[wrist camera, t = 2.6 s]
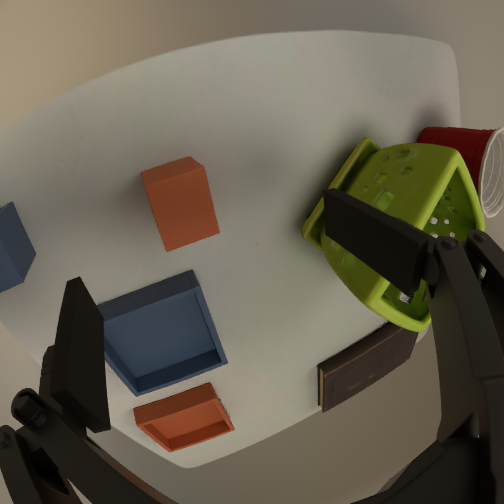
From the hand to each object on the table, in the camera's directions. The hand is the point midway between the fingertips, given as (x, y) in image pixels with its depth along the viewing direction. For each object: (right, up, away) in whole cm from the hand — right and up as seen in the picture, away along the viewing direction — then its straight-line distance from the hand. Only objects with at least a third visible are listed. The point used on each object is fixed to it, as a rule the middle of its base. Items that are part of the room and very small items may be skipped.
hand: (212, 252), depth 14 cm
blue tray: (-8, -8, +14) cm, 18 cm away
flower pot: (+13, +5, +17) cm, 22 cm away
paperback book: (+24, -20, +36) cm, 48 cm away
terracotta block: (-4, +5, +8) cm, 10 cm away
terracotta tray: (-8, -23, +22) cm, 33 cm away
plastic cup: (+25, +14, +18) cm, 34 cm away
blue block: (-18, +1, +3) cm, 18 cm away
